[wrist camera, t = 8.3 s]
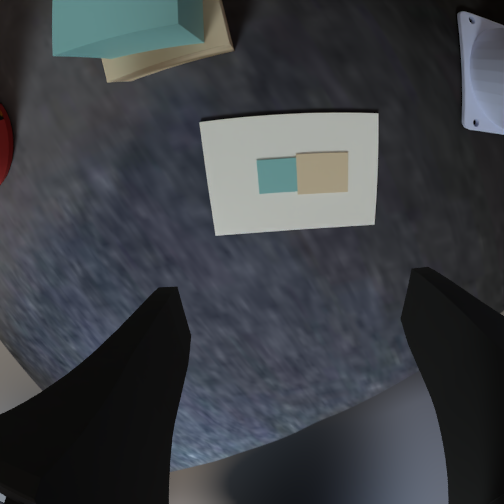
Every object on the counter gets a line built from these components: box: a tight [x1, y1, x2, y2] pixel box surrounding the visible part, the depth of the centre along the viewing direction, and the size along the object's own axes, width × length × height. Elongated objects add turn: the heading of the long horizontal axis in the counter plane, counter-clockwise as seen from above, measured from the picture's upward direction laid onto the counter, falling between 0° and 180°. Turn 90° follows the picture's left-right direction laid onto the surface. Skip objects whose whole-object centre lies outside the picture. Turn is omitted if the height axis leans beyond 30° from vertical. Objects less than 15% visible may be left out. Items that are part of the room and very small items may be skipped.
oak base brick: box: [102, 0, 234, 83], centre depth 12 cm, size 6×6×4 cm
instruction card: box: [199, 112, 378, 236], centre depth 18 cm, size 10×7×1 cm
